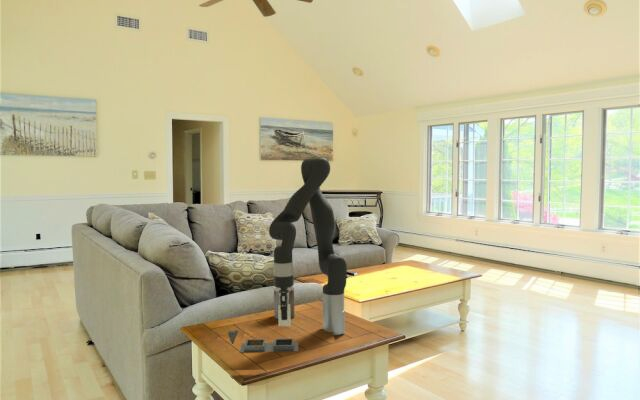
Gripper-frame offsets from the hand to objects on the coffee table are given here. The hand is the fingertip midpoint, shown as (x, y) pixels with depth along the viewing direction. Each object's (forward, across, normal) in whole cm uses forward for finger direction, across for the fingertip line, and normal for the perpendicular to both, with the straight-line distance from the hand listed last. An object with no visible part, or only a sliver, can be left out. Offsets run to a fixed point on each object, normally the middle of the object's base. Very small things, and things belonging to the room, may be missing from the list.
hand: (284, 317), depth 179 cm
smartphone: (+14, +16, +20) cm, 29 cm away
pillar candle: (+14, +42, +2) cm, 44 cm away
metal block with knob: (+3, 0, 0) cm, 3 cm away
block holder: (+13, 0, +6) cm, 14 cm away
